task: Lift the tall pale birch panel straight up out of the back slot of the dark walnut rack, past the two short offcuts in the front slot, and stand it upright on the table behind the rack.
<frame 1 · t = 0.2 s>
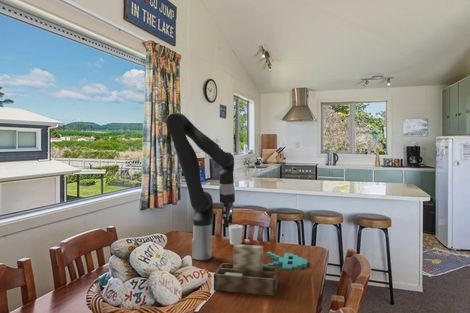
hand: (228, 225, 164), 17 cm above the table, tool pointing down, fingers open, 8 cm apart
sage offcut: (233, 287, 131), point 1 cm above the table, touching walnut rack
grey offcut: (259, 289, 129), point 1 cm above the table, touching walnut rack
white cup: (235, 243, 191), on the table
walnut rack: (246, 287, 133), on the table
alien figure: (285, 264, 159), on the table
birch panel: (248, 281, 136), point 1 cm above the table, touching walnut rack
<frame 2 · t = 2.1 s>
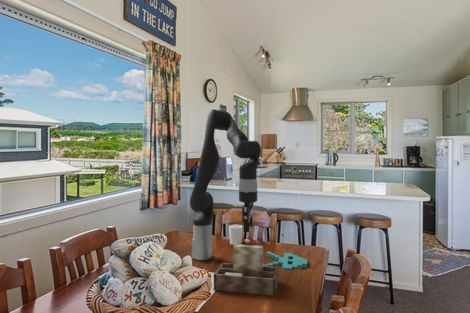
hand: (248, 229, 135), 23 cm above the table, tool pointing down, fingers open, 8 cm apart
nothing on the table moved.
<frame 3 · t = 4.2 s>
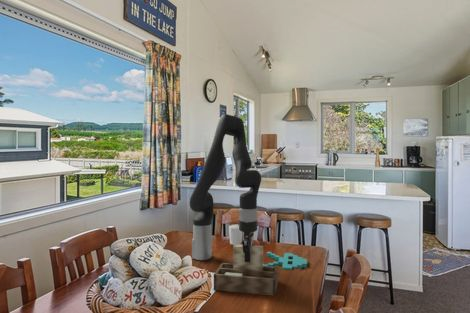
hand: (248, 260, 135), 10 cm above the table, tool pointing down, fingers closed on birch panel, 3 cm apart
birch panel: (248, 281, 136), point 1 cm above the table, touching gripper, walnut rack
everything else where it was.
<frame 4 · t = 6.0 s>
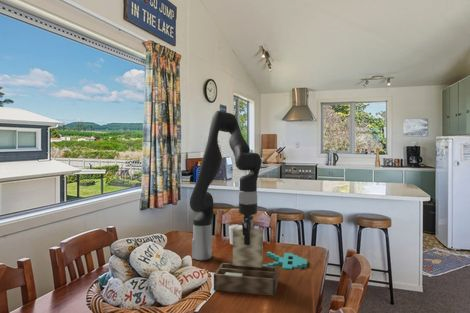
hand: (247, 243, 135), 17 cm above the table, tool pointing down, fingers closed on birch panel, 3 cm apart
birch panel: (247, 265, 136), point 8 cm above the table, touching gripper
everything else where it was.
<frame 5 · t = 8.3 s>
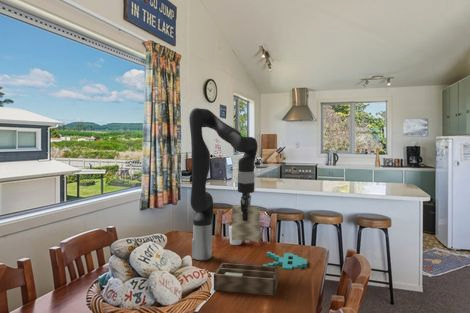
hand: (245, 219, 148), 24 cm above the table, tool pointing down, fingers closed on birch panel, 3 cm apart
birch panel: (245, 239, 148), point 15 cm above the table, touching gripper
everything else where it was.
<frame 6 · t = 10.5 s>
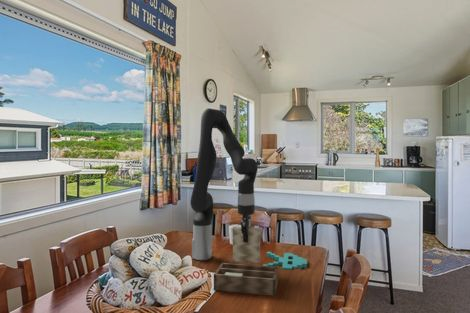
hand: (246, 240, 148), 14 cm above the table, tool pointing down, fingers closed on birch panel, 3 cm apart
birch panel: (246, 260, 149), point 5 cm above the table, touching gripper
everything else where it was.
when the fingers open (10 cm above the table, at t = 12.2 s): birch panel drops 1 cm, on the table.
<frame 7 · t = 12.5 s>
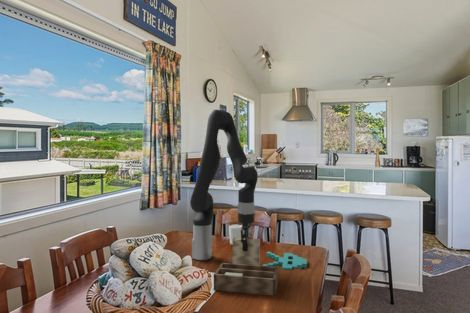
hand: (246, 248, 149), 11 cm above the table, tool pointing down, fingers open, 5 cm apart
birch panel: (246, 271, 149), on the table
everything else where it was.
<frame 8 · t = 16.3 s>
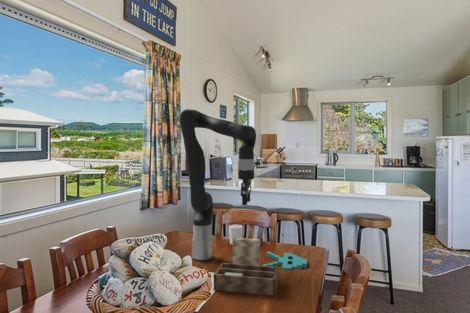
hand: (246, 203, 154), 30 cm above the table, tool pointing down, fingers open, 8 cm apart
nothing on the table moved.
at the end: birch panel inside the target area (0.1 cm from its centre), on the table; birch panel tilted 0°; the gripper is holding nothing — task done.
